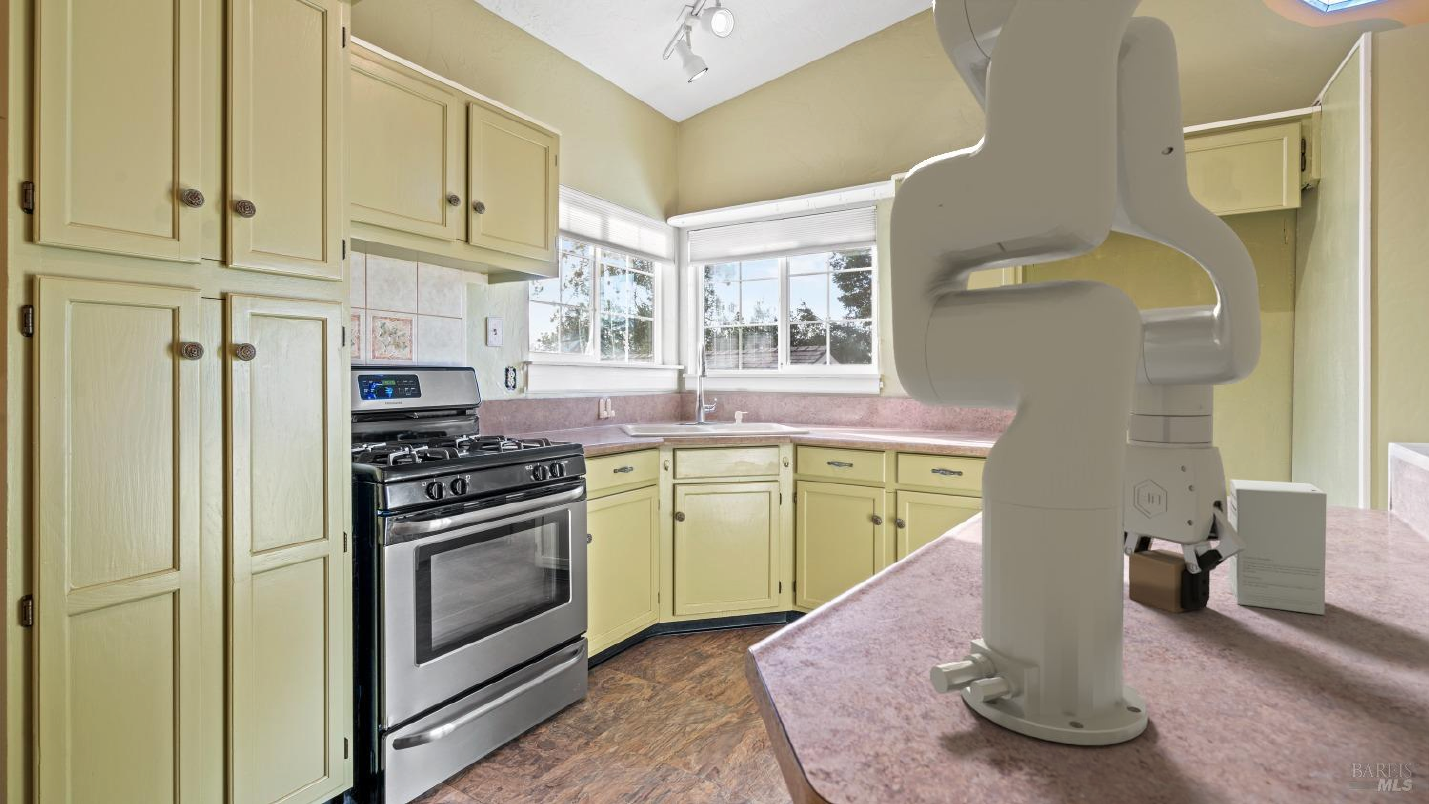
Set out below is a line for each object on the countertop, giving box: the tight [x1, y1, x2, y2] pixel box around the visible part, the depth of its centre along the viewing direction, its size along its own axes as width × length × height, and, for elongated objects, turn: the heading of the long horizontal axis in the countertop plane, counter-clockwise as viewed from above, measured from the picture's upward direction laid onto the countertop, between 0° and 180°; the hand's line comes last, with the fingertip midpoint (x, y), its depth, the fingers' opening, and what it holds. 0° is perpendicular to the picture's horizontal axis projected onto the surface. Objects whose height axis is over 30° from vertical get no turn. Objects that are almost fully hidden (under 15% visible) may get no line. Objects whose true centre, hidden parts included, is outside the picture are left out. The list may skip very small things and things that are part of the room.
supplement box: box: [1228, 478, 1328, 616], centre depth 74 cm, size 7×7×13 cm
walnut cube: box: [1128, 548, 1208, 614], centre depth 73 cm, size 5×5×5 cm
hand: (1167, 597), depth 74 cm, fingers closed on walnut cube, 5 cm apart
